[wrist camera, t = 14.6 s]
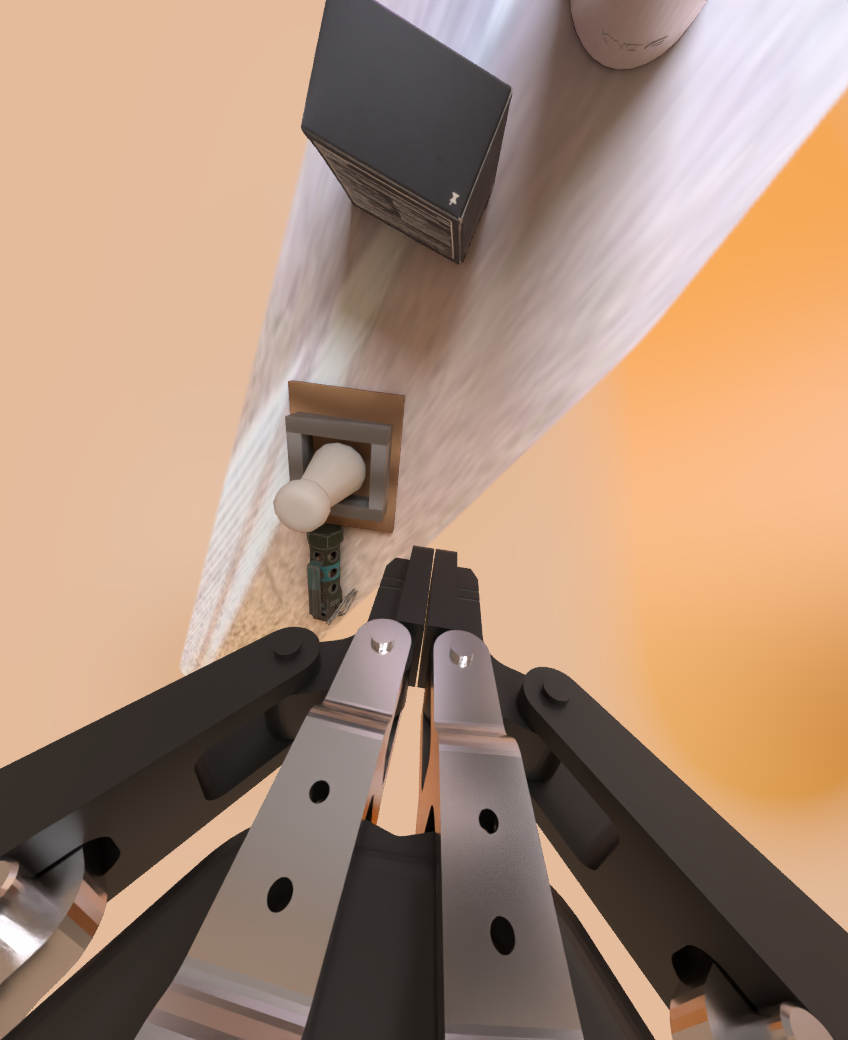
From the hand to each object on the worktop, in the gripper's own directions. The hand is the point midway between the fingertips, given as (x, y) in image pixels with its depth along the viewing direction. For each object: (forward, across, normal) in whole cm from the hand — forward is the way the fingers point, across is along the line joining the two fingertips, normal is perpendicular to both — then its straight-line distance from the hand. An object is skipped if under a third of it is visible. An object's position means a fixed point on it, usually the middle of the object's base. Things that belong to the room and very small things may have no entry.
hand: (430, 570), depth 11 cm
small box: (+27, +5, -18) cm, 33 cm away
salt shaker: (+26, +11, +6) cm, 29 cm away
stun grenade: (+27, +12, +21) cm, 37 cm away
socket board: (+27, +11, +6) cm, 30 cm away
